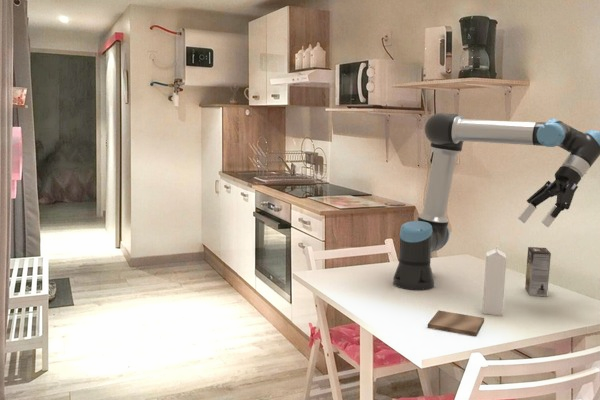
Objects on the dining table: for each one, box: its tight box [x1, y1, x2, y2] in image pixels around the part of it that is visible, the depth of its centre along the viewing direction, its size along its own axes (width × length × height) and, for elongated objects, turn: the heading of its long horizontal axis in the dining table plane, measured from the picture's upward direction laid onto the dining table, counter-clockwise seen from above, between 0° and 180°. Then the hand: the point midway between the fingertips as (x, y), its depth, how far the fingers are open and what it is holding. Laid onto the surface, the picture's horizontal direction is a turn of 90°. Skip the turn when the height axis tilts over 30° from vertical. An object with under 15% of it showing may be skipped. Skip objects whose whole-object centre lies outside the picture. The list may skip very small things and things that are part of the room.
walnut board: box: [427, 310, 485, 337], centre depth 168 cm, size 14×14×1 cm
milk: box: [482, 243, 507, 317], centre depth 179 cm, size 6×6×22 cm
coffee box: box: [524, 246, 552, 298], centre depth 202 cm, size 9×6×16 cm
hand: (532, 222), depth 182 cm, fingers open, 13 cm apart
